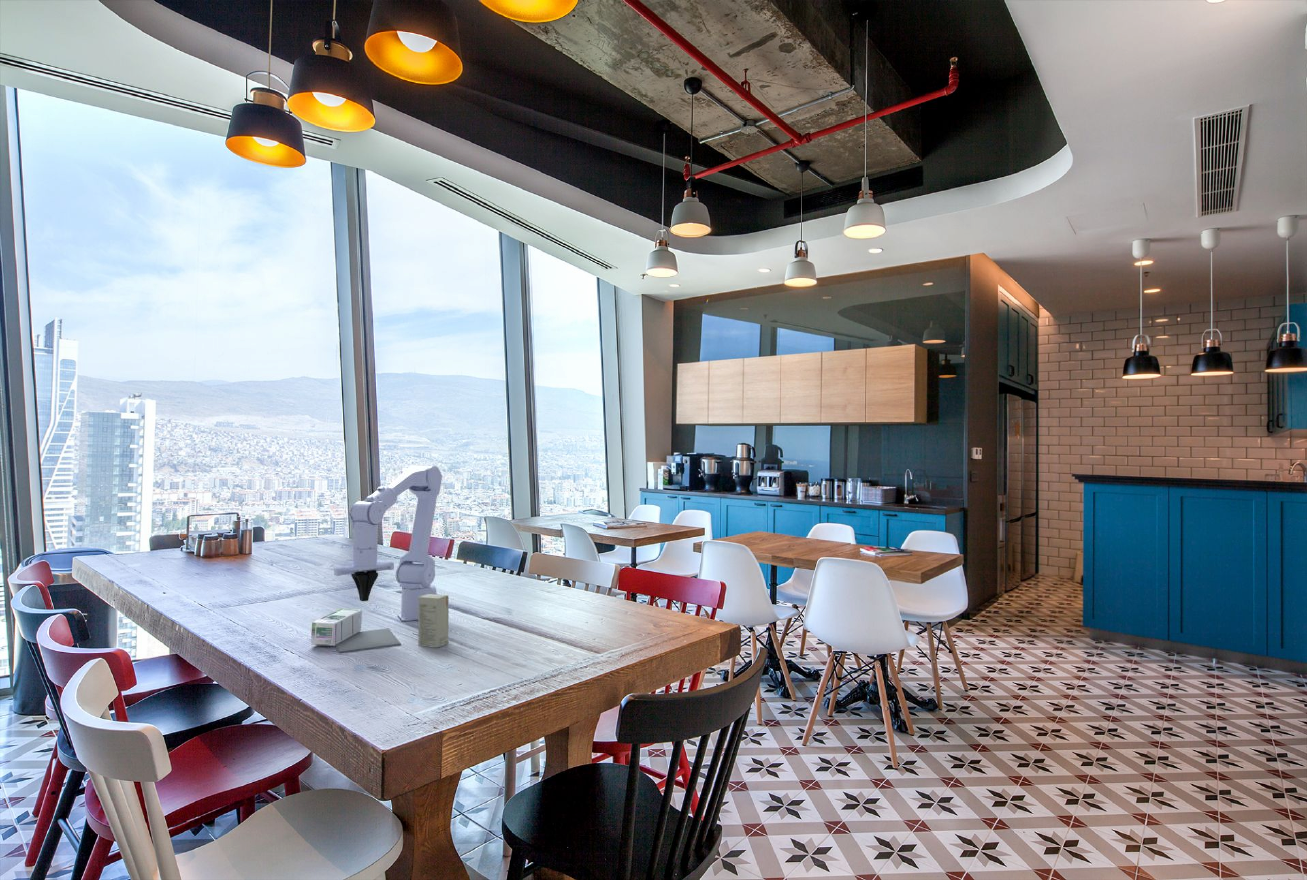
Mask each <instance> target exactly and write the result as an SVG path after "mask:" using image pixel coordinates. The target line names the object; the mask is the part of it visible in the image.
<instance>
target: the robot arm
mask: <svg viewBox="0 0 1307 880" xmlns="http://www.w3.org/2000/svg"><path fill="white" fill-rule="evenodd" d="M442 479H443V475H442V473H441V470H440V468H439V467H438V466H437V465H411V464H408V465H406V466H405V467H404V468H402V469H401V471H400V475H399V476H397V478H395V479H394V481H393V482H391V483H390V484H389V485H388V486H385V485H383V486H378V487H377V488H376V490H375V492H373V493H372V494H369V495H367V497H366V498H365V499H364V500H362V501H359V500H358V501H357V502H355V503H354V504H353V505H352V506H351V507H350V510H349V511H350V512H348V517H349V518H348V519H349V520H350V522H351V528H352V530H353V551H352V552H353V554H352V564H350V565H343V566H342V565H341V566H335V567H334V572H333V574H334V576H336V577H341V576H343V575H351V578H352V579H353V582H354V584H355V586H356V590H357V593H358V595H359V596H358V597H359V601H361V602H369V599H370V594H371V591H372V588H373V586H374V585H375V582H376V580H377V579H378V578H379V572H380V571H381V572H382V571H393V570H395V562H394V561H382V562H381V561H380V562H378V543H379V542H378V540H379V538H378V537H379V536H378V533H379V524H380V523H381V522H382V520H383V518H384V515H385V513H386V512H387V511H388V510H389V509H390V508H391V507H392V506H394V505H395V504H396V503H397V501H398V497H399V496H400V495H401V494H403V493H404V492H406V491H407V490H408V491H409V492H411V494H412V495H414V496H416V498H417V503H416V510H415V514H414V520H413V521H414V522H413V527H412V532H411V537H410V538H411V539H410V543H409V548H408V552H406V553H405V554H403V556H401V557H400V558H399V563H398V566H397V568H396V570H395V574H394V575H395V579H396V582H397V583H398V584H399V587H401V607H400V613H397V614H396V615H397V616H398V618H399V619H400V620H401V621H402V622H407V621H417V620H418V597H420V596H423V595H427V594H438V593H437V588H436V586H435V585H433V582H434V580H435V577H436V569H435V564H436V560H435V559H434V558H433V557H432V556H431V555H430V554H429V548H430V541H431V536H432V530H433V523H434V518H435V511H436V505H437V500H438V496H439V495H440V492H441V487H442V486H441V485H442Z"/></svg>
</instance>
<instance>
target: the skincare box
mask: <svg viewBox="0 0 1307 880" xmlns="http://www.w3.org/2000/svg"><path fill="white" fill-rule="evenodd" d="M449 598H450V597H449V595H448V594H438V593H437V594H427V595H423V596H420V597H418V623H417V624H418V625H417V626H418V628H417V635H418V637H417V638H418V641H417V646H421V647H431V648H440V647H442V646H445V645H448V644H449V620H450V619H449V617H450V616H449V607H450V605H449Z"/></svg>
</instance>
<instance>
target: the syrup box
mask: <svg viewBox="0 0 1307 880" xmlns="http://www.w3.org/2000/svg"><path fill="white" fill-rule="evenodd" d="M362 615H363V610H362V609H358V608H357V609H354V608H353V609H352V608H340V609H337V610H335V611H334V612H331V613H329V614H327V615H325V616H323V617H320V618H319V619H315V620H314V621H312V623H311V631H310V632H311V641H310V642H311V643H310V644H311V645H313V646H314V645H315V646H323V647H325V646H329V647H332V646H333V647H335V645H336V644H338V643H340V642H342V641H343V640H345V639H347V638H349V637H351V636H352V635H354V634H356V633H358V632H362V618H363V616H362Z"/></svg>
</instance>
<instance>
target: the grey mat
mask: <svg viewBox="0 0 1307 880" xmlns="http://www.w3.org/2000/svg"><path fill="white" fill-rule="evenodd" d="M401 643H402V642H401V641H400V640H398V638H397V637H396V635H394V633H393V632H392V631H391V630H390V628H387V627H386V628H380V629H372V630H363V631H362V630H361V631H360V632H358V633H356V634H354V635H352V636H351V637H349V638H347V639H345V640H343V641H342V642H340V643H338V644H336V645H334V647H335V648H336V650H337V651H338V653H339V654H343V653H351V652H357V651H365V650H372V649H381V648H388V647H397V646H401V645H402V644H401ZM396 645H397V646H396Z"/></svg>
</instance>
